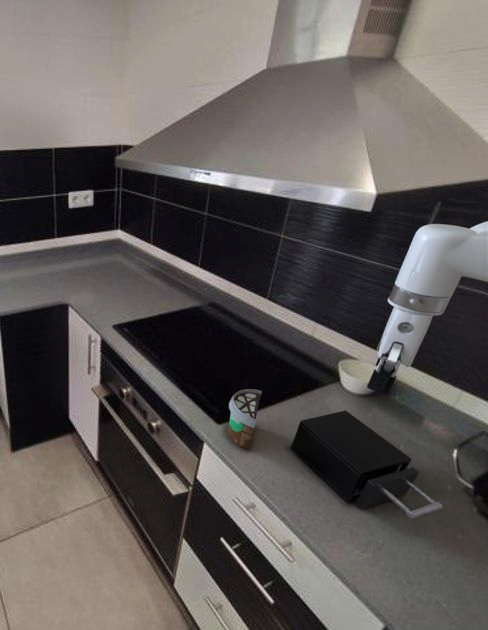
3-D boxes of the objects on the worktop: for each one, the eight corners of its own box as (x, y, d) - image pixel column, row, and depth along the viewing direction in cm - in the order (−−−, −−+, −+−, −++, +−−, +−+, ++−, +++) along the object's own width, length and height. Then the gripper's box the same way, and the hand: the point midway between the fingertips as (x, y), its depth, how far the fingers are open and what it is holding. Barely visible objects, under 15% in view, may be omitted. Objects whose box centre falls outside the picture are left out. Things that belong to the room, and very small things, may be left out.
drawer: (439, 523, 71) (456, 499, 67) (392, 539, 68) (407, 514, 65) (345, 445, 87) (355, 423, 84) (304, 456, 85) (313, 433, 82)
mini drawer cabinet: (394, 488, 78) (412, 459, 74) (346, 503, 75) (361, 473, 71) (333, 437, 91) (345, 410, 87) (290, 448, 88) (300, 420, 84)
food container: (227, 413, 99) (235, 382, 94) (253, 421, 96) (262, 389, 91) (218, 444, 89) (226, 411, 84) (246, 454, 86) (256, 421, 82)
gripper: (444, 322, 57) (400, 410, 65) (449, 289, 69) (411, 367, 76) (383, 308, 62) (348, 391, 70) (397, 279, 73) (365, 353, 81)
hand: (381, 379), depth 73 cm, fingers open, 9 cm apart
